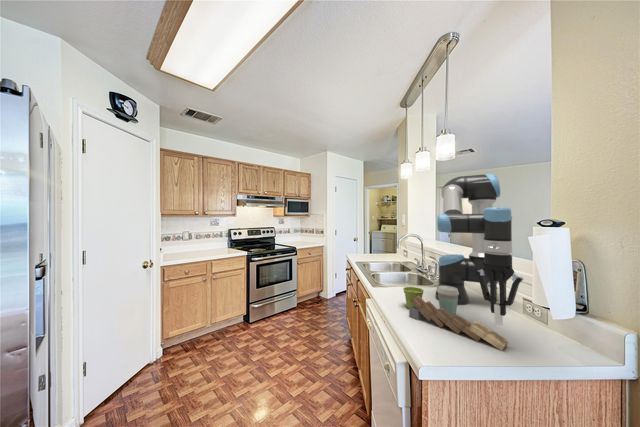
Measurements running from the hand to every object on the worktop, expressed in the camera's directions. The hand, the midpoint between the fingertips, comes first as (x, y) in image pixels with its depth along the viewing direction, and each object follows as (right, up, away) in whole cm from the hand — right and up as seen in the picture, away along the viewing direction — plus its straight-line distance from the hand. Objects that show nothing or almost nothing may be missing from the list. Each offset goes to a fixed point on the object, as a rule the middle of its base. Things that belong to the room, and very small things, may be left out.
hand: (498, 323), depth 77 cm
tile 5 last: (-13, -6, +17) cm, 23 cm away
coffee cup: (-3, -8, +24) cm, 26 cm away
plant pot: (-15, -8, +33) cm, 37 cm away
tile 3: (-7, -7, +9) cm, 13 cm away
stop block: (-17, -8, +23) cm, 30 cm away
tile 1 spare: (+1, -7, -1) cm, 7 cm away
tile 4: (-10, -7, +14) cm, 19 cm away
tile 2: (-3, -7, +4) cm, 8 cm away
